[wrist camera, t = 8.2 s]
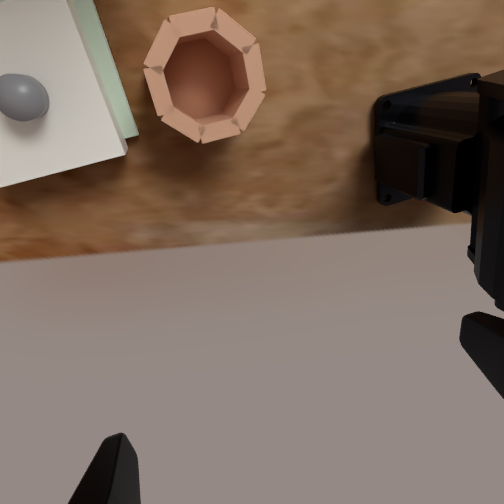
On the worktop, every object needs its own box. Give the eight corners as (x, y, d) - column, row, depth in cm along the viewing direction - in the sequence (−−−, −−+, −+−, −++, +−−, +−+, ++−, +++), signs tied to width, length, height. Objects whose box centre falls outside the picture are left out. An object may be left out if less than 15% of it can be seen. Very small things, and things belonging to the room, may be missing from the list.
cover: (72, -1, 14) (54, -18, 11) (128, 147, 17) (123, 159, 14) (-73, 29, 13) (-124, 17, 11) (11, 178, 16) (-14, 195, 14)
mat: (71, -62, 14) (68, -67, 13) (139, 133, 17) (138, 135, 17) (-123, -29, 13) (-132, -33, 12) (-9, 170, 16) (-13, 172, 16)
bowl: (232, 14, 16) (251, -2, 13) (252, 118, 18) (272, 125, 15) (134, 35, 15) (128, 23, 12) (166, 139, 18) (168, 152, 14)
